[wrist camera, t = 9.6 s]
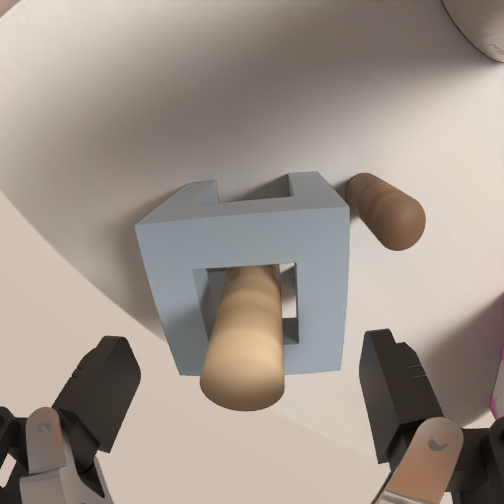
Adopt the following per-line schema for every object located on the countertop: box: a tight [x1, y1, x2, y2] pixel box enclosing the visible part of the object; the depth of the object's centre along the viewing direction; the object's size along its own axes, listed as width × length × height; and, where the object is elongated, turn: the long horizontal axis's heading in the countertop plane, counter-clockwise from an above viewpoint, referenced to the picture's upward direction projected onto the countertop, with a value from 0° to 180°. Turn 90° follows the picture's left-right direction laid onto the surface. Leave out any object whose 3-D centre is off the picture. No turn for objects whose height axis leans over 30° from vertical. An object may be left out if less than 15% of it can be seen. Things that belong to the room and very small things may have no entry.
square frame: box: [134, 172, 350, 376], centre depth 16 cm, size 8×8×8 cm
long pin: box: [200, 264, 285, 411], centre depth 14 cm, size 3×3×12 cm
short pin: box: [345, 173, 426, 251], centre depth 15 cm, size 3×3×6 cm
